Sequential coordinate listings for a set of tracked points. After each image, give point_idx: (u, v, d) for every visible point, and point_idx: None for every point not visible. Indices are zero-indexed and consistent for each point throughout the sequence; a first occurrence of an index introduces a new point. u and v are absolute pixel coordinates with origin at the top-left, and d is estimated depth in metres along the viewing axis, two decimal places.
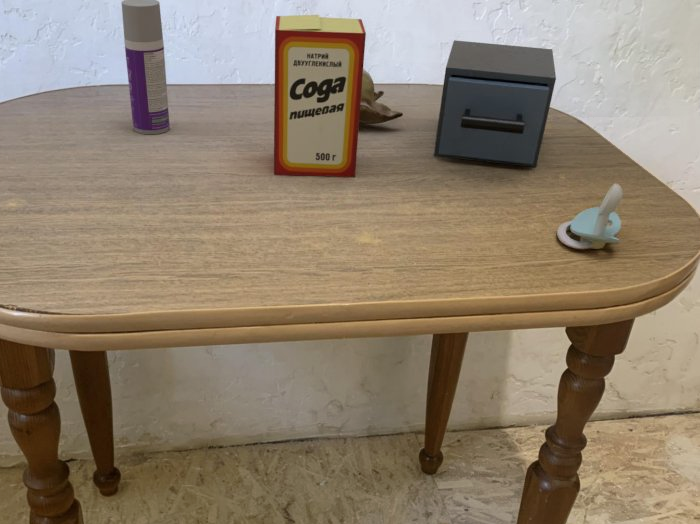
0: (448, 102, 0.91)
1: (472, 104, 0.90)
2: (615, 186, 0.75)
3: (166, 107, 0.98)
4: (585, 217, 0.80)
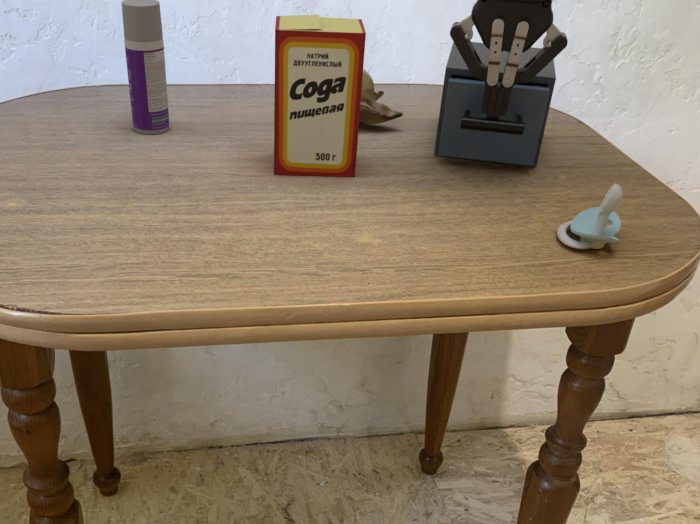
0: (448, 103, 0.90)
1: (472, 105, 0.90)
2: (615, 186, 0.75)
3: (166, 107, 0.98)
4: (585, 217, 0.80)
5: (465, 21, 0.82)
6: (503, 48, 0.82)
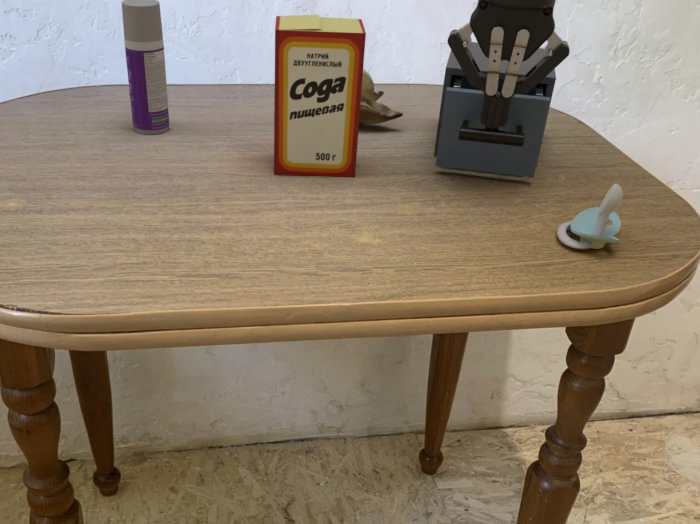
0: (446, 113, 0.87)
1: (471, 115, 0.87)
2: (615, 186, 0.75)
3: (166, 107, 0.98)
4: (585, 217, 0.80)
5: (463, 29, 0.79)
6: (503, 57, 0.80)
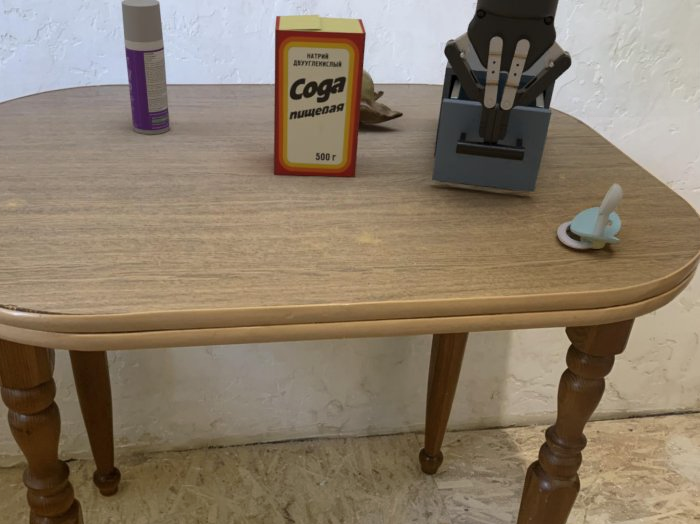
0: (443, 125, 0.84)
1: (469, 128, 0.84)
2: (615, 186, 0.75)
3: (166, 107, 0.98)
4: (585, 217, 0.80)
5: (460, 39, 0.76)
6: (502, 68, 0.76)
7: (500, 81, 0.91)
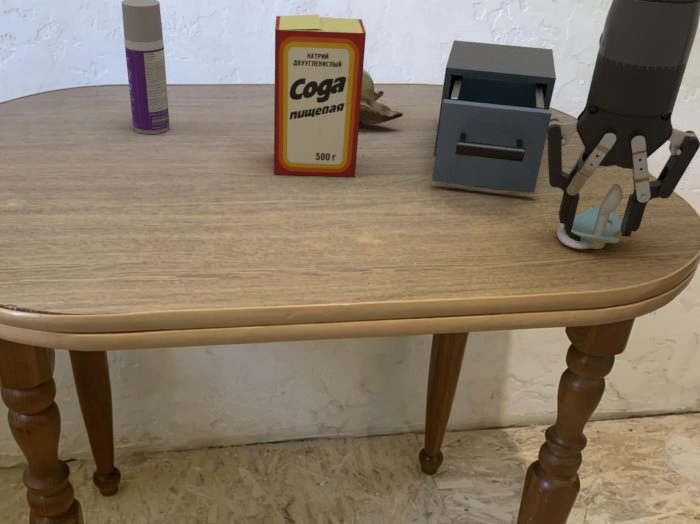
0: (442, 126, 0.84)
1: (468, 129, 0.83)
2: (615, 186, 0.75)
3: (166, 107, 0.98)
4: (585, 217, 0.80)
5: (568, 124, 0.72)
6: (613, 162, 0.73)
7: (500, 82, 0.91)
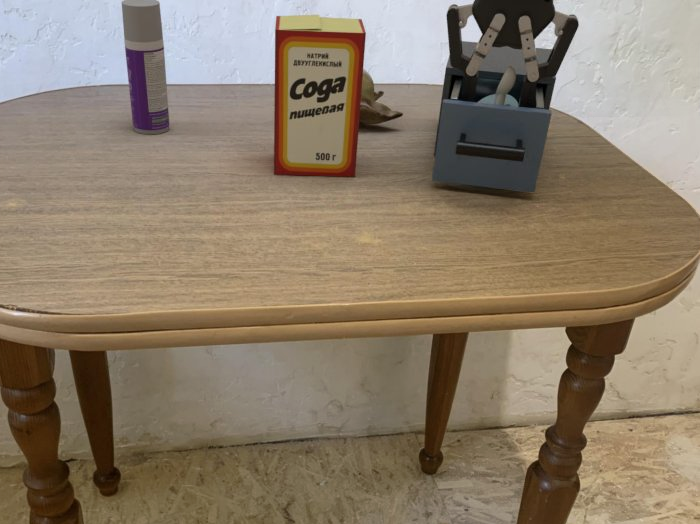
0: (442, 126, 0.84)
1: (468, 129, 0.83)
2: (508, 67, 0.83)
3: (166, 107, 0.98)
4: (487, 102, 0.88)
5: (465, 8, 0.81)
6: (504, 43, 0.81)
7: None
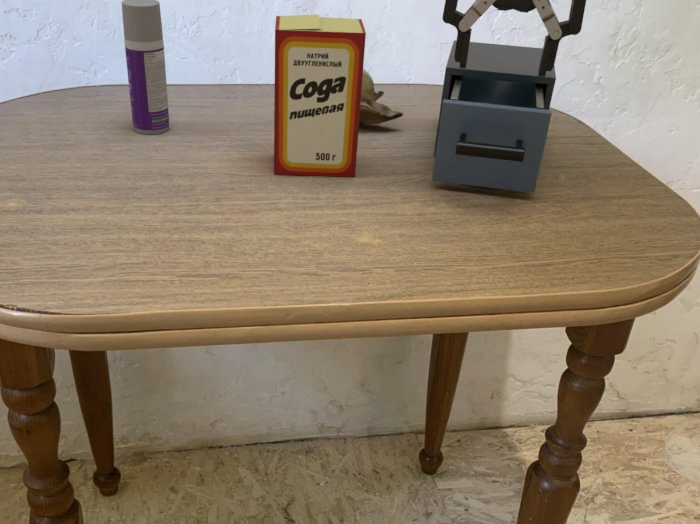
0: (442, 126, 0.84)
1: (469, 129, 0.83)
2: None
3: (166, 107, 0.98)
4: None
5: None
6: (511, 6, 0.79)
7: (500, 82, 0.91)
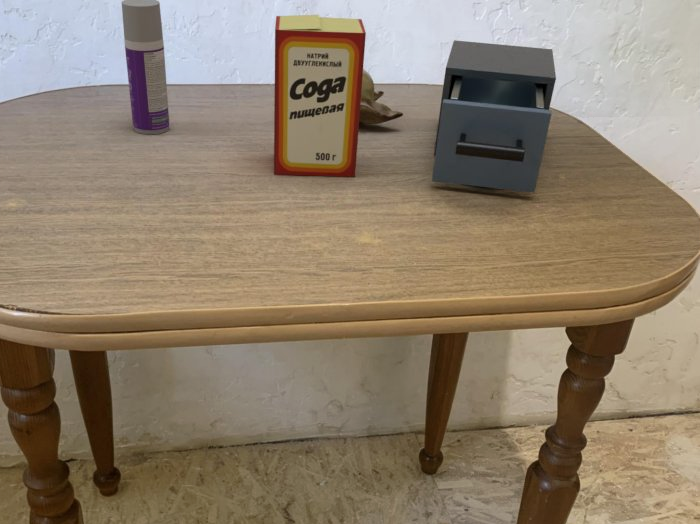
0: (442, 126, 0.84)
1: (469, 129, 0.83)
2: None
3: (166, 107, 0.98)
4: None
5: None
6: None
7: (500, 82, 0.91)
